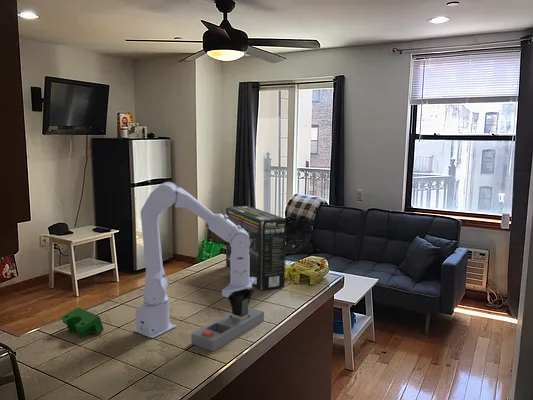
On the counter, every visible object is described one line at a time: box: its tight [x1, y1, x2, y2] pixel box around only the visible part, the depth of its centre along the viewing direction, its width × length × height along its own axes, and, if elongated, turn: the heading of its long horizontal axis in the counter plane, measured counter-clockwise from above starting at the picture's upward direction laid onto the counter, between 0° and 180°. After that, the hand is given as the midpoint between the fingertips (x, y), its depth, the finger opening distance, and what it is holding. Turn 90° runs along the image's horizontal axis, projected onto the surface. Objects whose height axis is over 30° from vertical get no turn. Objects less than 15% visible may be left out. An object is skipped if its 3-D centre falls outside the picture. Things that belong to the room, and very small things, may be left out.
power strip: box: [190, 306, 265, 352], centre depth 130 cm, size 24×8×4 cm, turn 145°
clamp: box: [61, 306, 105, 339], centre depth 129 cm, size 12×6×9 cm, turn 48°
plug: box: [231, 297, 249, 321], centre depth 134 cm, size 3×4×8 cm
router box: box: [225, 205, 287, 291], centre depth 180 cm, size 36×11×27 cm, turn 27°
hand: (240, 312), depth 134 cm, fingers closed on plug, 3 cm apart
